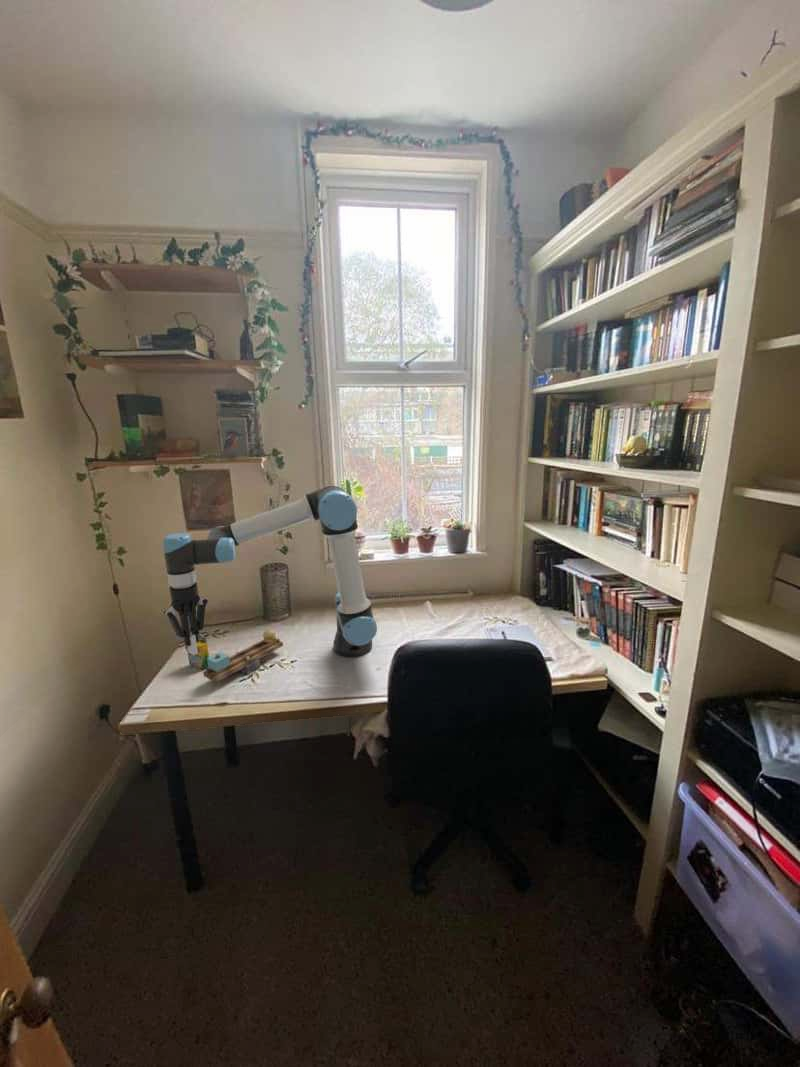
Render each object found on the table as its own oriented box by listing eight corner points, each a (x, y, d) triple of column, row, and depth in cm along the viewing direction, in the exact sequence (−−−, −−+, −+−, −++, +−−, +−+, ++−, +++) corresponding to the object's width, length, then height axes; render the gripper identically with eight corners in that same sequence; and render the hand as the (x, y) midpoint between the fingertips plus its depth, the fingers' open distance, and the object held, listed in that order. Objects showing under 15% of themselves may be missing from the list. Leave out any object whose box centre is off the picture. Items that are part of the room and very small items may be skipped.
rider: (222, 663, 146) (220, 649, 144) (230, 667, 143) (228, 653, 142) (209, 670, 142) (206, 656, 140) (217, 675, 139) (215, 660, 138)
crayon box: (189, 666, 153) (184, 637, 150) (195, 662, 156) (191, 634, 152) (204, 670, 150) (200, 641, 147) (211, 665, 153) (206, 637, 150)
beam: (270, 646, 165) (267, 626, 163) (285, 653, 160) (283, 633, 158) (203, 682, 143) (199, 660, 141) (218, 691, 138) (215, 668, 136)
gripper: (196, 575, 135) (205, 641, 141) (154, 588, 125) (166, 658, 131) (210, 580, 131) (218, 647, 137) (167, 593, 121) (179, 666, 127)
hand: (193, 653), depth 134 cm, fingers closed
